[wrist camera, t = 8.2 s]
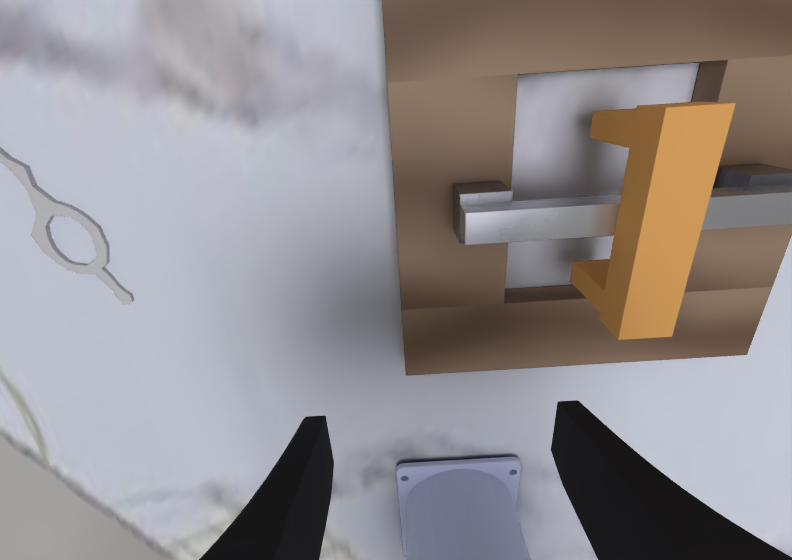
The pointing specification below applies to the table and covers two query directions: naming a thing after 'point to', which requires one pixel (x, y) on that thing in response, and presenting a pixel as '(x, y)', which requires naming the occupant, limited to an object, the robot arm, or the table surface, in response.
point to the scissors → (51, 207)
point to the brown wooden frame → (493, 155)
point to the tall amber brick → (654, 212)
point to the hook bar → (614, 208)
